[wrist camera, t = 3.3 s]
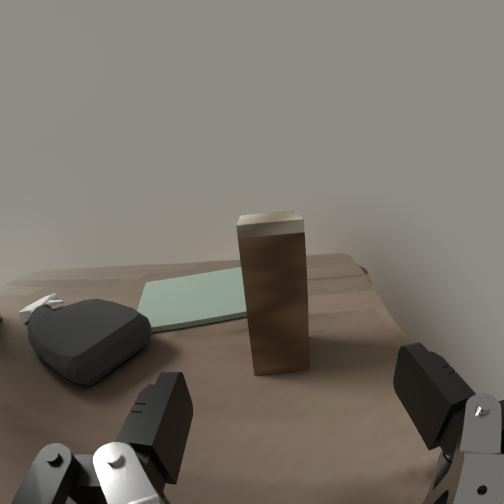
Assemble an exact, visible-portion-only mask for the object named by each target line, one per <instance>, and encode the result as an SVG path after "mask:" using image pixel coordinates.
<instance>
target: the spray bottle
mask: <svg viewBox="0 0 504 504" xmlns="http://www.w3.org/2000/svg"><path fill="white" fill-rule="evenodd" d="M56 299H58V297H57V295H56V293H54V294H52V295H49V296H45V297H43V298H42V299H40V300H38V301H36V302H34V303H32V304H31V305H29V306H27V307H25V308H24V309H22V310H21V311H20V312H19V314H20V317H21V319H22V320H24V319H29V324H28V334H29V341H30V343H31V345H32V347H33V348H34V350H35V351H36V352H37V354H38V355H39V357H40V358H41V359H42V360H43V361H44V362H46V363H47V364H48V365H49V366H50V367H51V368H53V369H54V370H55V371H56V372H58V373H59V374H60V375H61V376H63V377H65V378H67V379H69V380H71V381H73V382H74V383H77V384H82V385H86V386H90V385H93V384H95V383H96V382H97V381H99V380H100V379H101V378H103V377H104V376H105V375H107V374H108V373H109V372H111V371H112V370H113V369H115V368H116V367H117V366H119V365H120V364H121V363H123V362H124V361H125V360H127V359H128V358H129V357H131V356H132V355H133V354H135V353H136V352H137V351H139V350H140V349H141V348H143V347H144V346H145V345H146V343H147V342H148V340H149V337H150V335H151V324H150V322H149V320H148V318H147V317H146V316H144V315H142V314H141V313H139V312H138V311H136V310H134V309H133V308H130V307H127V306H124V305H120V304H117V303H114V302H110V301H105V300H101V299H92V300H84V301H81V302H78V303H74V304H71V305H68V306H65V307H63V308H61V309H58V310H56V311H54V310H52V308H51V307H50V306H53V305H58V304H63V303H64V301H63V300H56Z"/></svg>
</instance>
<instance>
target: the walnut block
mask: <svg viewBox="0 0 504 504" xmlns="http://www.w3.org/2000/svg"><path fill="white" fill-rule="evenodd" d="M237 233H238V243H239V251H240V261H241V269H242V278H243V286H244V295H245V303H246V311H247V319H248V328H249V336H250V344H251V352H252V359H253V367H254V375H267V374H278V373H288V372H297V371H305V370H309V333H308V292H307V268H306V252H305V251H306V249H305V233H304V219H302V218H301V217H300V216H299V215H297V214H296V213H295V212H293V211H285V212H275V213H263V214H253V215H243V216H240V218H239V221H238V223H237Z"/></svg>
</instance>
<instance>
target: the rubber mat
mask: <svg viewBox="0 0 504 504" xmlns="http://www.w3.org/2000/svg"><path fill="white" fill-rule="evenodd" d="M137 311H138V312H139V313H141V314H142V315H144V316H146V317H147V318H148V320H149V322H150V324H151V333H152V332H159V331H166V330H172V329H179V328H185V327H191V326H197V325H203V324H208V323H214V322H219V321H225V320H230V319H235V318H240V317H246V316H247V311H246V303H245V295H244V286H243V278H242V269H241V267H238V268H232V269H227V270H221V271H214V272H208V273H202V274H196V275H190V276H184V277H178V278H171V279H165V280H159V281H153V282H146V285H145V288H144V291H143V294H142V297H141V300H140V303H139V306H138V309H137Z"/></svg>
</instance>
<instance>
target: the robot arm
mask: <svg viewBox="0 0 504 504" xmlns="http://www.w3.org/2000/svg"><path fill="white" fill-rule="evenodd" d="M0 319H1V315H0ZM393 384H394V389H395V392H396V394H397V396H398V397H399V399H400V401H401V402H402V404H403V406H404V407H405V409H406V411H407V413H408V414H409V416H410V418H411V419H412V421H413V423H414V425H415V426H416V428H417V430H418V432H419V433H420V435H421V437H422V439H423V441H424V442H425V444H426V446H427V448H428V450H432V449H434V448H436V447H439V446H440V447H441V449H442V451H441V453H440V455H439V459H438V463H437V466H436V470H435V473H434V476H433V479H432V482H431V486H430V488H429V491H428V494H427V496H426V498H425V500H424V502H423V503H422V504H503V502H504V400H502V401H498V400H497V399H496V398H495V397H494V396H492V395H489V394H483V393H482V394H475V392H473V390H472V389H471V388H470V387H469V386H468V385H467V384H466V382H465V381H464V380H463V379H462V378H461V377H460V376H459V375H458V373H455V370H454V369H453V368H452V367H451V366H449V364H448V363H447V362H446V360H445V359H444V358H443V357H441V356H439V355H437V354H436V353H434V352H428V350H427V349H426V348H425V347H424V346H423V345H422V344H421V343H419V342H418V343H414V344H410V345H406V346H402V347H401V348H400V349H399V353H398V358H397V364H396V369H395V374H394V379H393ZM192 417H193V405H192V400H191V397H190V394H189V391H188V388H187V385H186V381H185V378H184V375H183V373H182V372H161V373H160V375H159V377H158V379H157V381H156V383H155V385H148V386H147V387H146V388H144V389H143V390H142V391H141V392H140V393H139V395H138V397H137V399H136V401H135V405H133V407H132V409H131V413H129V415H128V417H127V419H126V421H125V423H124V425H123V427H122V429H121V431H120V433H119V435H118V437H117V439H116V441H115V442H113V443H108V444H105V445H103V446H102V447H100V448H99V449H98V450H97V451H96V453H95V454H81V455H73V454H72V453H71V451H70V450H69V449H68V448H67V447H66V446H65V445H63V444H59V443H53V444H49V445H47V446H45V447H44V448H42V449H41V450H40V452H39V453H38V455H37V457H36V459H35V460H34V462H33V464H32V466H31V467H30V469H29V471H28V473H27V475H26V476H25V478H24V480H23V482H22V484H21V486H20V488H19V490H18V491H17V493H16V495H15V497H14V499H13V501H12V503H11V504H65V502H66V500H67V497H69V498H68V500H67V503H66V504H171V503H170V502H169V500H168V498H167V497H166V495H165V494H164V492H163V490H164V486H165V483H168V484H176V483H177V479H178V475H179V471H180V466H181V462H182V458H183V454H184V450H185V446H186V442H187V438H188V433H189V429H190V425H191V421H192Z"/></svg>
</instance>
